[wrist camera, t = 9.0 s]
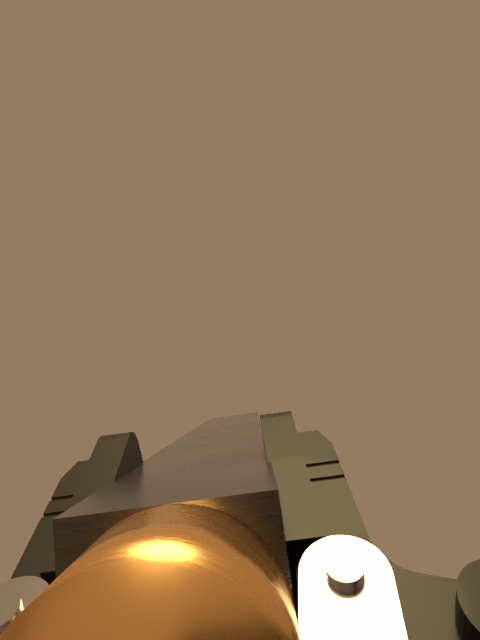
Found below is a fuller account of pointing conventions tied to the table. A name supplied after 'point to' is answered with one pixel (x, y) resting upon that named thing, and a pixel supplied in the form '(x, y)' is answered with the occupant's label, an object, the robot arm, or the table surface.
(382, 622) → the robot arm
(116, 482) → the rod
